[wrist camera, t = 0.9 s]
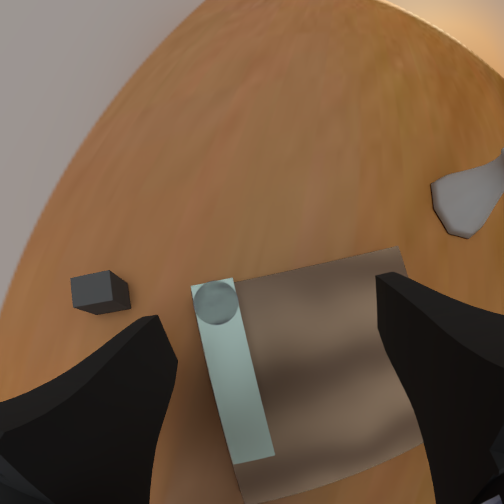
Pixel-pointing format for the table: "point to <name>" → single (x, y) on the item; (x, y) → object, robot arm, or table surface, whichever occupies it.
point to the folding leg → (232, 371)
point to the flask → (468, 197)
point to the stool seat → (322, 376)
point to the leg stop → (100, 293)
